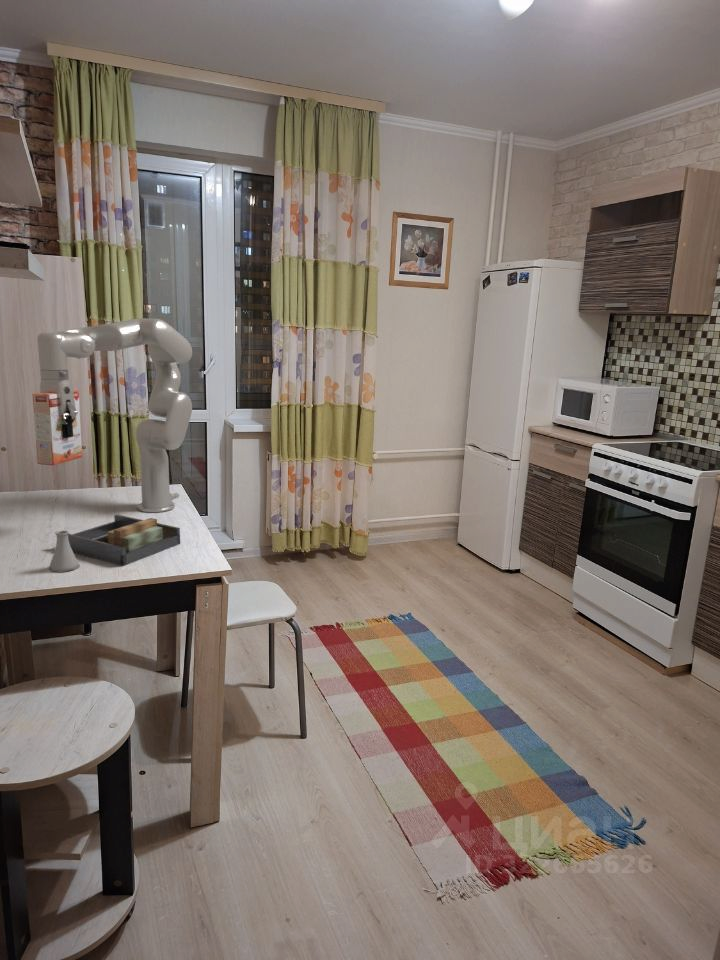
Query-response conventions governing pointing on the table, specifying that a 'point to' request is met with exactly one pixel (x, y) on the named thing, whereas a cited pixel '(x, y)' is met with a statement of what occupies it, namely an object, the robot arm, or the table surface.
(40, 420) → the cracker box
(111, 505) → the table surface
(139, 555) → the tray
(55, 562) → the flask
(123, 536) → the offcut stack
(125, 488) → the table surface
